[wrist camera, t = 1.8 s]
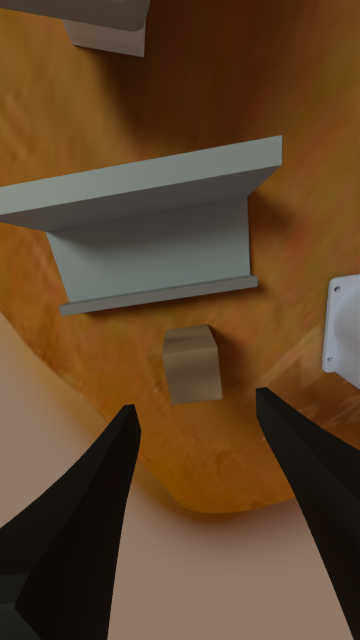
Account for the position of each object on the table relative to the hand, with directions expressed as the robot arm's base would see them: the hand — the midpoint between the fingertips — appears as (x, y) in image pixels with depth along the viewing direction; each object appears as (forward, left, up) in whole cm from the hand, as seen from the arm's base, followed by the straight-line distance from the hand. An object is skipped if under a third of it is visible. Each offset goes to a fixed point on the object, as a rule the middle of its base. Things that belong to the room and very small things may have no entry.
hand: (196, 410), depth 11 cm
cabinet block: (0, 0, -8) cm, 8 cm away
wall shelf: (+10, +2, -8) cm, 13 cm away
